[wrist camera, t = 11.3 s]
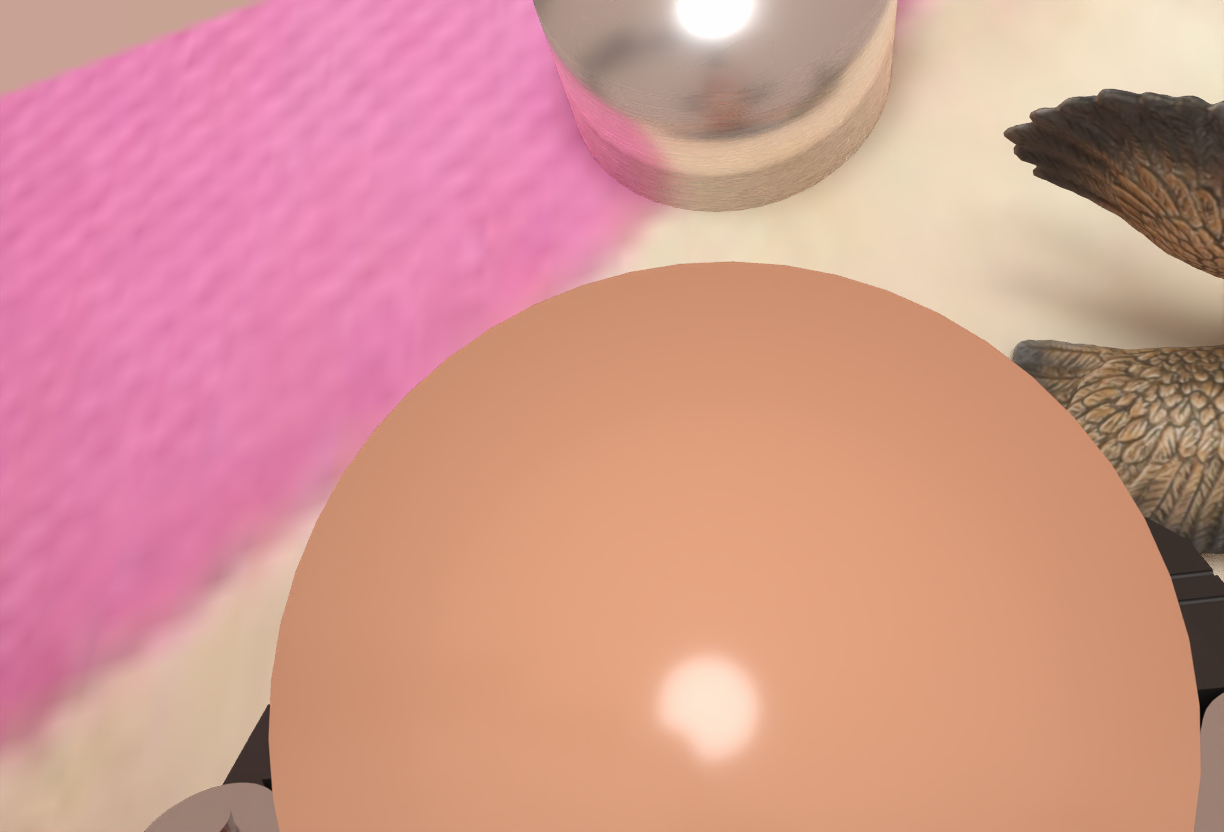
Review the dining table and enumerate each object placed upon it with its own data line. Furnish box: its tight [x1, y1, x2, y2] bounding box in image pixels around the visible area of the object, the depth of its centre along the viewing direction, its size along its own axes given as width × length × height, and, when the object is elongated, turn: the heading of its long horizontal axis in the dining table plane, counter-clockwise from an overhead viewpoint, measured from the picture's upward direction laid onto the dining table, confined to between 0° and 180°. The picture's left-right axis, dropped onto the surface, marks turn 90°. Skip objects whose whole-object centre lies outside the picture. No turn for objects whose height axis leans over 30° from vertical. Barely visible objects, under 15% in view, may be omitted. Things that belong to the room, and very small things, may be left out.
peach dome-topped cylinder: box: [269, 262, 1201, 832], centre depth 12 cm, size 6×6×12 cm
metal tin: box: [533, 0, 897, 212], centre depth 21 cm, size 7×7×4 cm
